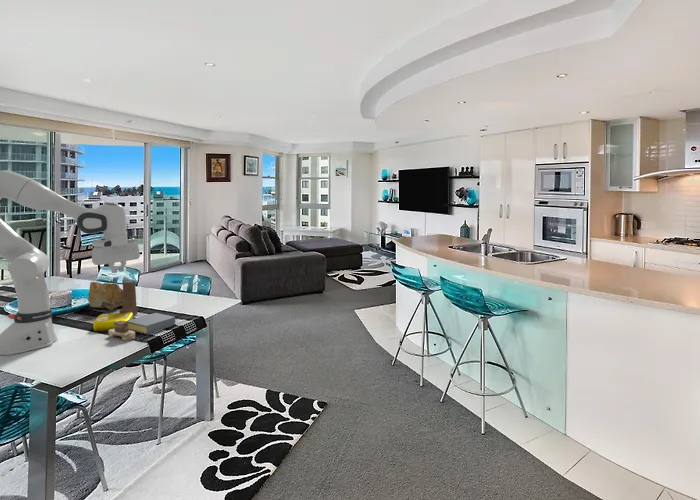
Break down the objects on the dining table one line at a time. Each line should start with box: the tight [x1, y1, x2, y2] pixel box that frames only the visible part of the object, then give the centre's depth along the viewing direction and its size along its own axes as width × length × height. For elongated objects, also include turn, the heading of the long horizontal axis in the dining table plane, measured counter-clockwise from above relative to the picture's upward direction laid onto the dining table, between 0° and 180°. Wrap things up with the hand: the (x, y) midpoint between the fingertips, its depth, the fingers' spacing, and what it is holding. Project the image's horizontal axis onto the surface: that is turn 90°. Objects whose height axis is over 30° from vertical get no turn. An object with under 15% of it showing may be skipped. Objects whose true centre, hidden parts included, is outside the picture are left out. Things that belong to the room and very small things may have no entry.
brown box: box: [114, 321, 129, 333], centre depth 197 cm, size 3×5×4 cm, turn 62°
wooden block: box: [118, 280, 138, 317], centre depth 226 cm, size 9×4×18 cm, turn 178°
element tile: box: [92, 312, 134, 332], centre depth 214 cm, size 15×15×5 cm
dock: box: [126, 312, 176, 335], centre depth 212 cm, size 16×14×4 cm
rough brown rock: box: [87, 281, 124, 311], centre depth 244 cm, size 23×17×15 cm
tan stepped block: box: [107, 328, 136, 342], centre depth 198 cm, size 5×12×3 cm, turn 62°
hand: (117, 272), depth 193 cm, fingers closed
